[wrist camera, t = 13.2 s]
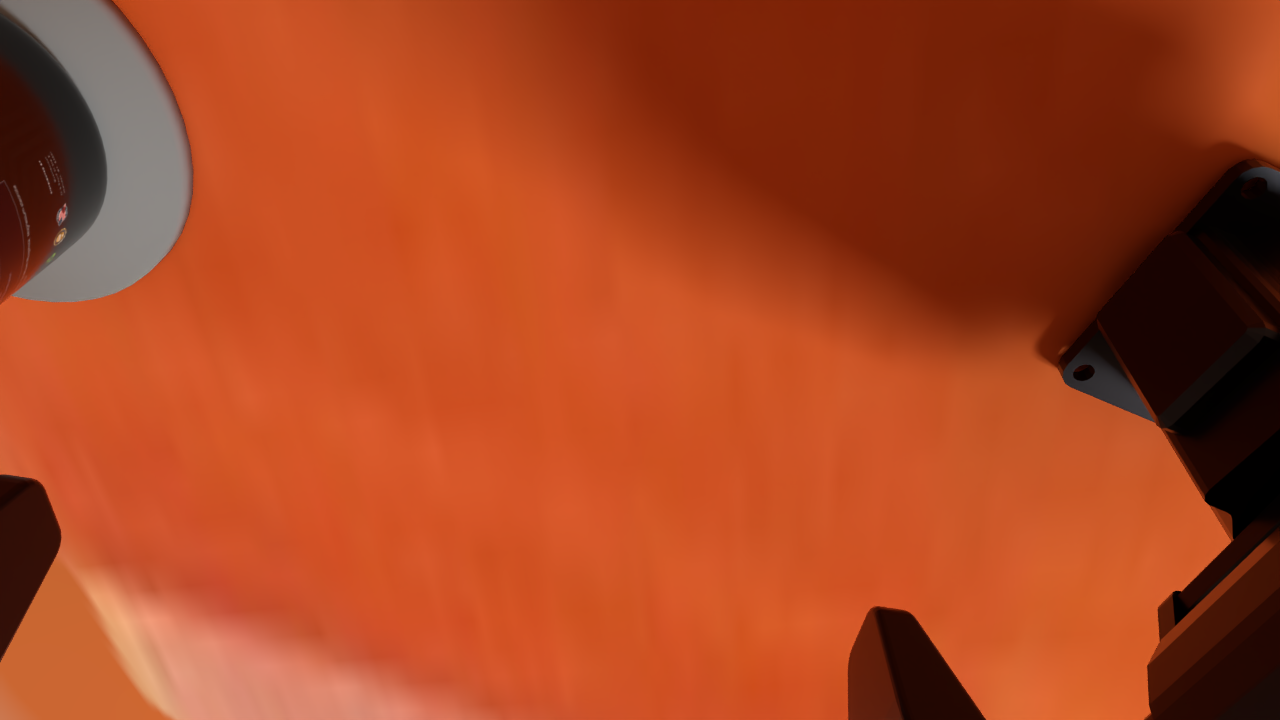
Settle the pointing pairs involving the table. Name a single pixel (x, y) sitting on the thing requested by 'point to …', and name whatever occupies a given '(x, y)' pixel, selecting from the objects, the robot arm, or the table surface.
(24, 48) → the supplement bottle
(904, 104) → the table surface
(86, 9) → the coaster
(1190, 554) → the table surface
